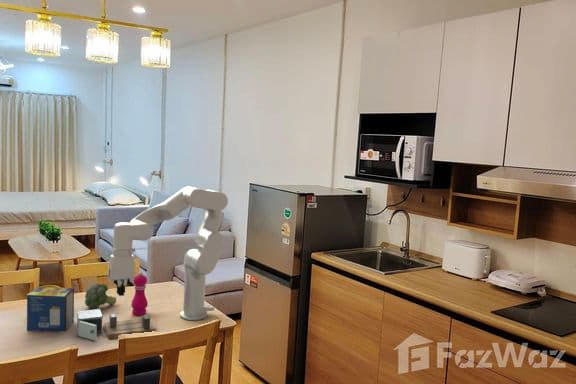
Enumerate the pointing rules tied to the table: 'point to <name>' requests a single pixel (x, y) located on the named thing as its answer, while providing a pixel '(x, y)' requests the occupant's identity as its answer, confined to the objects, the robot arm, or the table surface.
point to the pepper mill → (139, 295)
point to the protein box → (50, 309)
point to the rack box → (91, 318)
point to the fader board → (130, 327)
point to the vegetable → (98, 296)
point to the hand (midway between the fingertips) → (120, 294)
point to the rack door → (86, 330)
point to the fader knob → (113, 320)
